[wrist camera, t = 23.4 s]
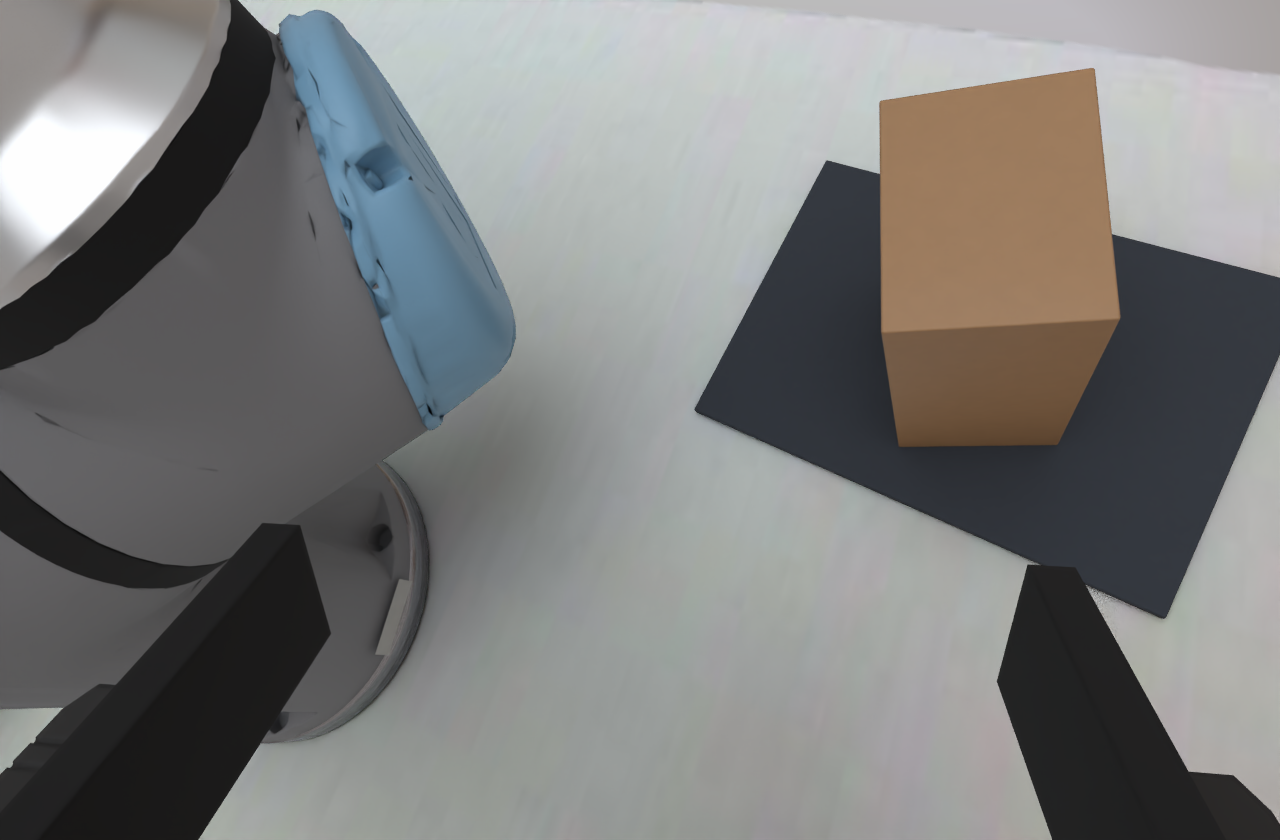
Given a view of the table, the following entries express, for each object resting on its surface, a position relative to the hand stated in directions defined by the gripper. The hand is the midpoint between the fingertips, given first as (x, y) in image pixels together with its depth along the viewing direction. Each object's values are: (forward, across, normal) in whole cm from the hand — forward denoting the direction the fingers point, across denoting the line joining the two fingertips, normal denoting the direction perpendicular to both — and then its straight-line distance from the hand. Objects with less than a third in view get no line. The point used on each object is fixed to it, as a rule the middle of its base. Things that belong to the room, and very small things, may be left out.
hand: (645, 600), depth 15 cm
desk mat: (+21, +11, -4) cm, 25 cm away
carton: (+21, +11, -4) cm, 24 cm away
